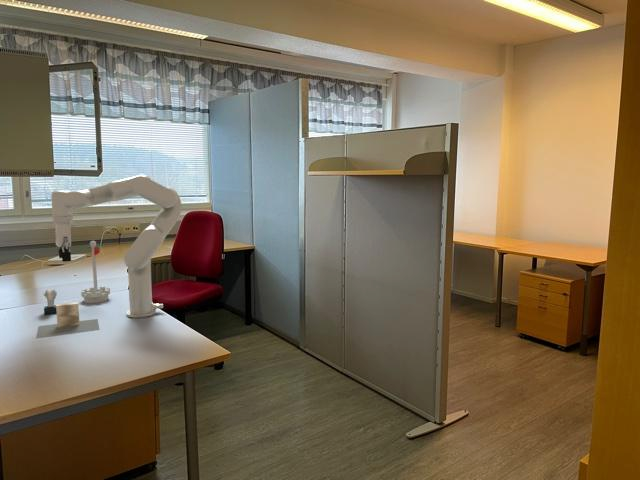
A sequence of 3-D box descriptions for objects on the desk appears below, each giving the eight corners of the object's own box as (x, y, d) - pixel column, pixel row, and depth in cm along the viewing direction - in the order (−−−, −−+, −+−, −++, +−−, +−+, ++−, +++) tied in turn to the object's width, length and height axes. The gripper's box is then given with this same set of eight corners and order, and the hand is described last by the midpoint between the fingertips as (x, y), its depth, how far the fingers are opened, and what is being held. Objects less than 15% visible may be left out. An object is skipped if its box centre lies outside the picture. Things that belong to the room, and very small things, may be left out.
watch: (59, 310, 216) (57, 287, 215) (58, 314, 209) (56, 290, 207) (45, 311, 214) (43, 288, 212) (43, 316, 206) (42, 292, 205)
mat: (97, 320, 202) (97, 318, 202) (99, 330, 188) (99, 329, 188) (38, 327, 192) (38, 326, 192) (35, 339, 178) (35, 338, 178)
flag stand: (76, 301, 231) (72, 241, 227) (99, 295, 243) (95, 238, 239) (93, 304, 225) (89, 243, 221) (116, 298, 237) (113, 240, 233)
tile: (79, 322, 196) (78, 302, 195) (79, 324, 194) (78, 303, 193) (57, 325, 193) (56, 304, 191) (57, 327, 190) (56, 306, 189)
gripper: (50, 218, 203) (52, 257, 205) (55, 222, 189) (57, 263, 192) (69, 217, 207) (71, 255, 210) (76, 221, 194) (78, 261, 196)
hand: (65, 259), depth 201 cm, fingers open, 9 cm apart
